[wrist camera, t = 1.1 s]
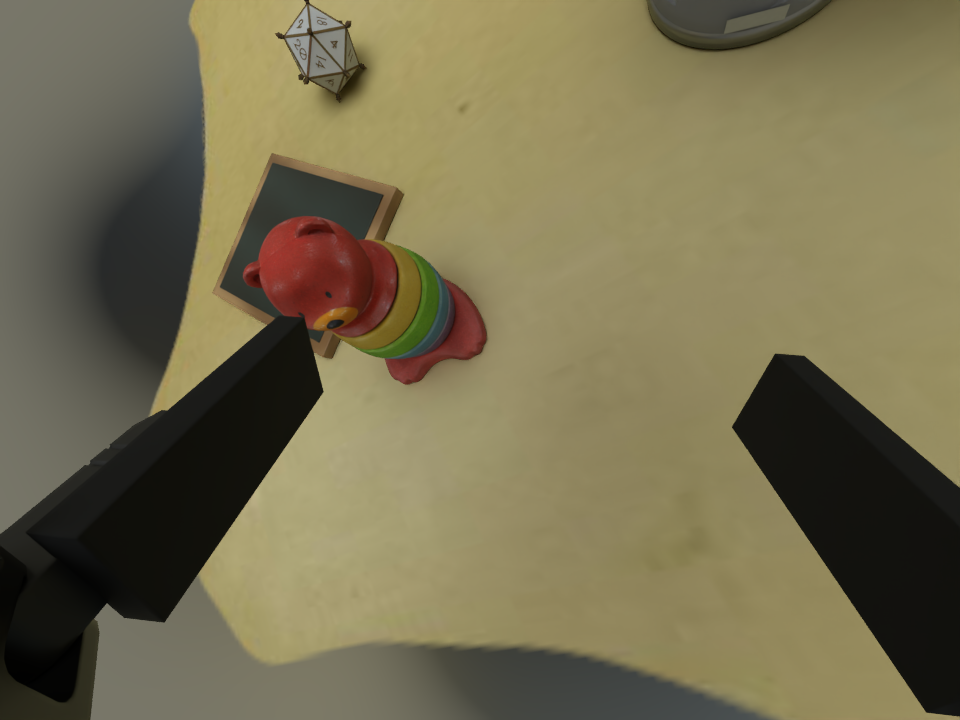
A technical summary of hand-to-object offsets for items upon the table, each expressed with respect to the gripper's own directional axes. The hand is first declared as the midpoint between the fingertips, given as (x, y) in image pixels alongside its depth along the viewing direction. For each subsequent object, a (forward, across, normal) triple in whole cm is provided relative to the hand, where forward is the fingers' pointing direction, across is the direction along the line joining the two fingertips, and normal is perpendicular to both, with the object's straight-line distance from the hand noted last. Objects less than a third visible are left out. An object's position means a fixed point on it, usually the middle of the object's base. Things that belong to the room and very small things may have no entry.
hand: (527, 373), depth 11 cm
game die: (+48, -23, +9) cm, 54 cm away
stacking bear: (+24, -8, -12) cm, 28 cm away
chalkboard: (+34, -26, -9) cm, 44 cm away
